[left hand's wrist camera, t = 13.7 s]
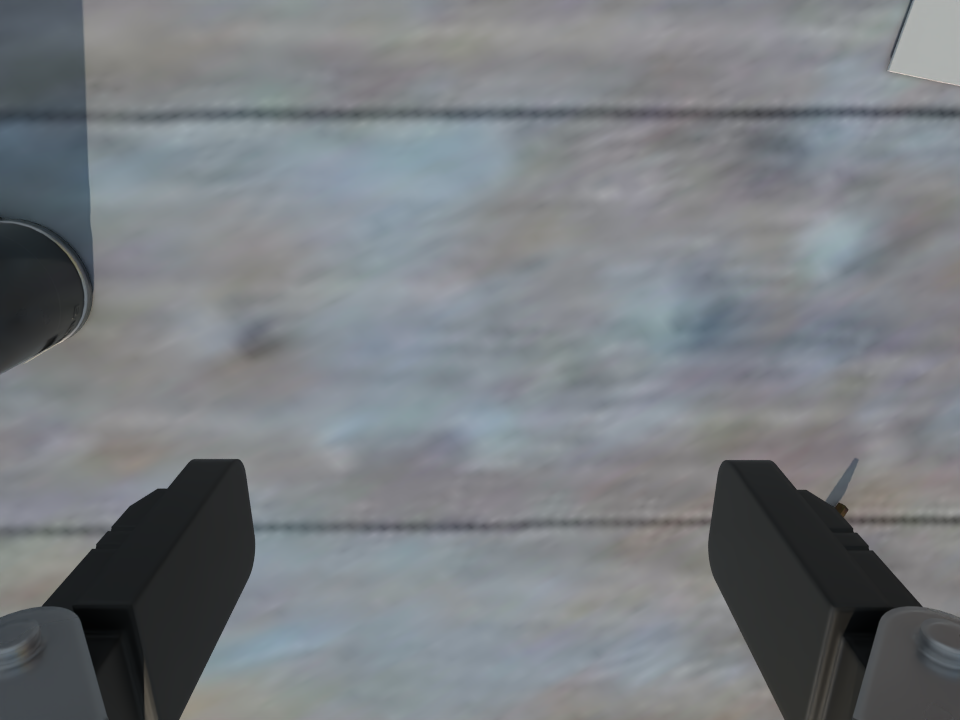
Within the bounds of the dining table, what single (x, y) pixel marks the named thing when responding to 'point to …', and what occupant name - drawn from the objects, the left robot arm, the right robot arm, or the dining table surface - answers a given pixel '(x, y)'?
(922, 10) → the invitation card
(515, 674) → the dining table surface
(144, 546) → the left robot arm
